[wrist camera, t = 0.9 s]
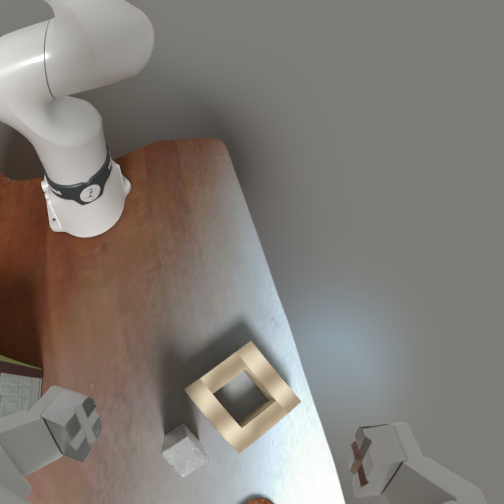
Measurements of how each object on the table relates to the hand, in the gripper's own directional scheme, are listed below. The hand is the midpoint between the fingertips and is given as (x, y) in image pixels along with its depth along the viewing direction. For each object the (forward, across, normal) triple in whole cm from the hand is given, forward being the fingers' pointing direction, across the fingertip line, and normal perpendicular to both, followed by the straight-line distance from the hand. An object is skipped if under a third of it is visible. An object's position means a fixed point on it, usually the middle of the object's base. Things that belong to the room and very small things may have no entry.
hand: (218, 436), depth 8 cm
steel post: (+26, +10, +32) cm, 42 cm away
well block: (+33, +2, +27) cm, 43 cm away
